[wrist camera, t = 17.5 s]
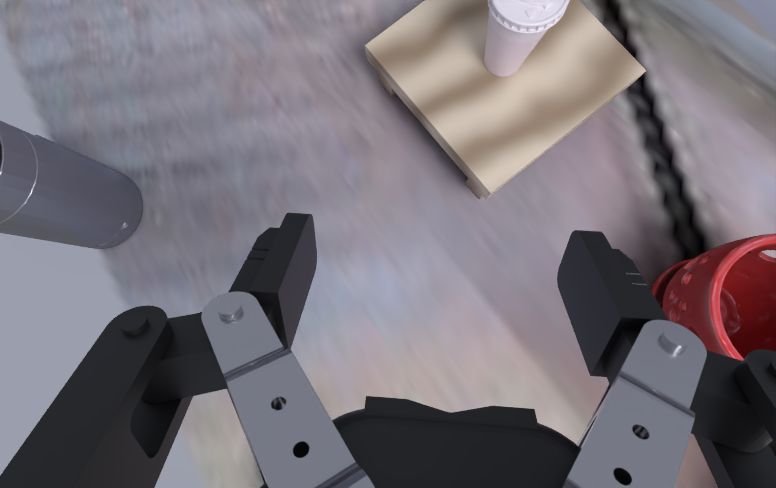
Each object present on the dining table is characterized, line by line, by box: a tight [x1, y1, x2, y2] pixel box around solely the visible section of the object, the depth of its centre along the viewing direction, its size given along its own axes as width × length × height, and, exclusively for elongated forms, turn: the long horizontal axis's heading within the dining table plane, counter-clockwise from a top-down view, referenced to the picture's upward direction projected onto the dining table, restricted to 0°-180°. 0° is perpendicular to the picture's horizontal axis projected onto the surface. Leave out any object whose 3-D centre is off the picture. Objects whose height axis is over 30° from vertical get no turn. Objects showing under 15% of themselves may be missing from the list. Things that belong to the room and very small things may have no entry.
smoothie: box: [484, 0, 569, 77], centre depth 35 cm, size 6×6×14 cm
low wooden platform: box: [365, 0, 646, 199], centre depth 46 cm, size 20×20×7 cm
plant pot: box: [651, 234, 776, 361], centre depth 39 cm, size 13×13×12 cm
